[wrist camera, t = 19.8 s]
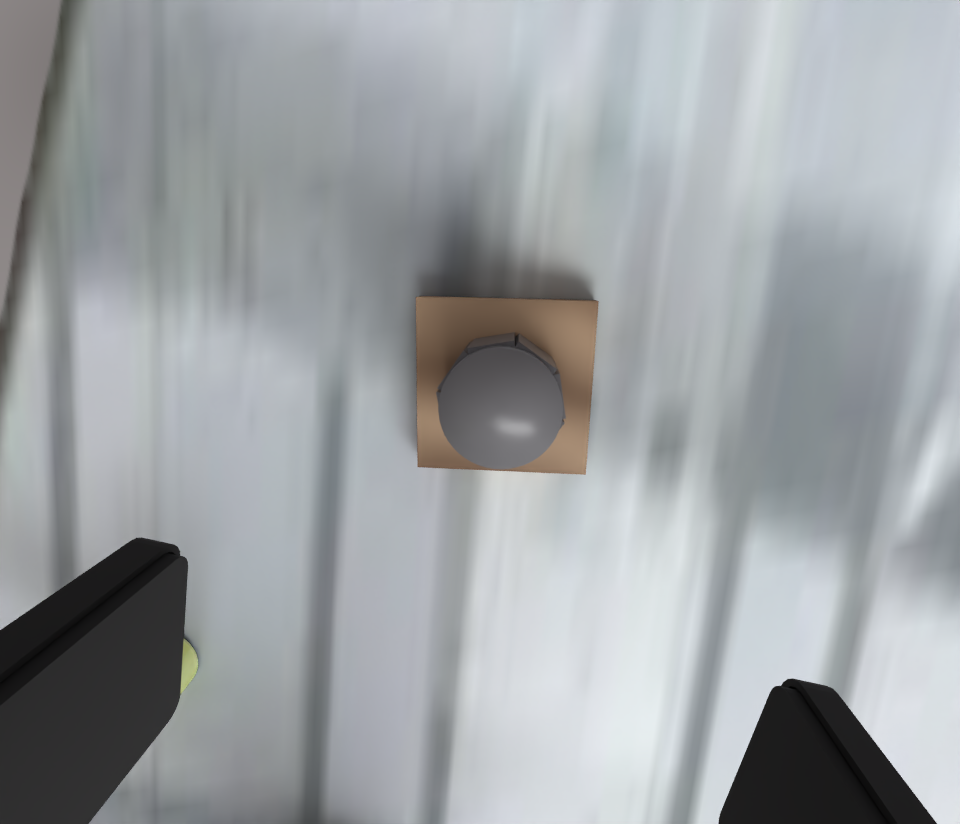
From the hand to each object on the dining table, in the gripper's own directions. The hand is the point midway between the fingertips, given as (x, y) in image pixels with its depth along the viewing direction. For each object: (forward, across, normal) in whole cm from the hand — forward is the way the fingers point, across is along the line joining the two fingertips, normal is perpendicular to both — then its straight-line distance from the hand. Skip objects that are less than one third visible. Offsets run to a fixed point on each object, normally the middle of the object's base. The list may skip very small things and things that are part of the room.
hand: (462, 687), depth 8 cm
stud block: (+24, 0, 0) cm, 24 cm away
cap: (+23, 0, 0) cm, 23 cm away
